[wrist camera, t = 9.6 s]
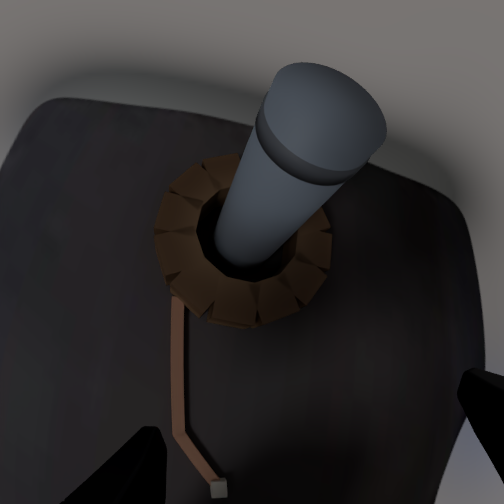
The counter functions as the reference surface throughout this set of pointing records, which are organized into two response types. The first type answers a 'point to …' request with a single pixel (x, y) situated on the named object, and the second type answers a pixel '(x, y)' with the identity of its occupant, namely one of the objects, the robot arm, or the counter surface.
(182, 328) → the lace
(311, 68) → the dark grey capped cylinder
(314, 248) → the brown segmented ring
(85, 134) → the counter surface
